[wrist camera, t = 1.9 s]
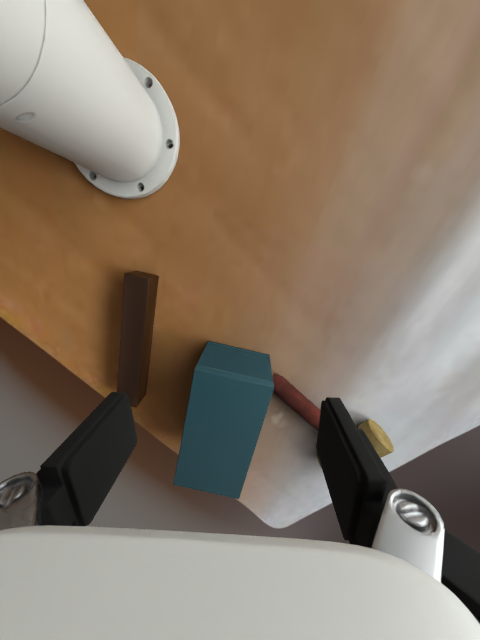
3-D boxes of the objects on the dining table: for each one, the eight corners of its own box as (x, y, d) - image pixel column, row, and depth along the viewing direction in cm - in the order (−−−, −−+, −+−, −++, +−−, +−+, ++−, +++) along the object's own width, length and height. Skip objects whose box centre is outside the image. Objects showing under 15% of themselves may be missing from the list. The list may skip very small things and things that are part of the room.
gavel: (235, 398, 33) (285, 355, 29) (241, 379, 37) (286, 340, 33) (339, 487, 34) (399, 458, 30) (334, 459, 39) (386, 431, 35)
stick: (127, 390, 36) (116, 402, 33) (136, 270, 30) (124, 273, 27) (145, 394, 36) (136, 407, 33) (158, 275, 30) (149, 279, 27)
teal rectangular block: (189, 437, 38) (173, 484, 31) (208, 340, 33) (194, 369, 25) (241, 449, 38) (238, 499, 31) (269, 354, 33) (274, 387, 25)
